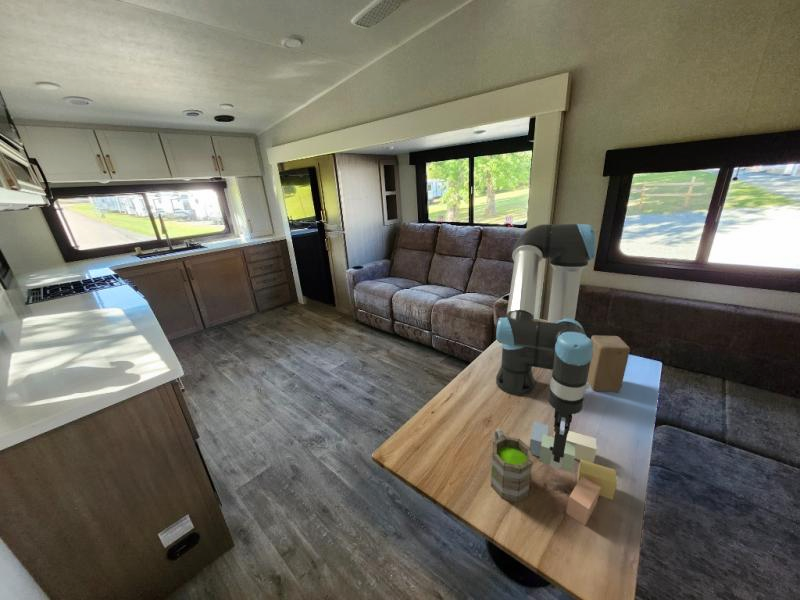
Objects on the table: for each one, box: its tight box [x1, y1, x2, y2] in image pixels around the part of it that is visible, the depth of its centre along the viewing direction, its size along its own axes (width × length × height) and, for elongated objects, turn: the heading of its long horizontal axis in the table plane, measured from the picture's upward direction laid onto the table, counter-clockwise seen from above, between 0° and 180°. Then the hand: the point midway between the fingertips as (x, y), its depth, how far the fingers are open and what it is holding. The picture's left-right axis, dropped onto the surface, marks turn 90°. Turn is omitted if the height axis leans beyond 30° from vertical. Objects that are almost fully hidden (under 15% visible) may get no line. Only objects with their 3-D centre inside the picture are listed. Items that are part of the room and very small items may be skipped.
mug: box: [490, 428, 534, 503], centre depth 86 cm, size 16×11×12 cm
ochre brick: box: [577, 459, 618, 501], centre depth 82 cm, size 8×4×6 cm, turn 61°
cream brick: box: [566, 430, 598, 464], centre depth 92 cm, size 8×4×6 cm, turn 61°
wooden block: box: [587, 334, 631, 393], centre depth 119 cm, size 10×10×20 cm
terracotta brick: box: [565, 476, 601, 526], centre depth 77 cm, size 8×4×6 cm, turn 131°
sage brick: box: [538, 434, 576, 473], centre depth 84 cm, size 8×4×6 cm, turn 61°
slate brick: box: [529, 421, 549, 458], centre depth 96 cm, size 8×4×6 cm, turn 151°
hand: (555, 459), depth 85 cm, fingers closed on sage brick, 4 cm apart
